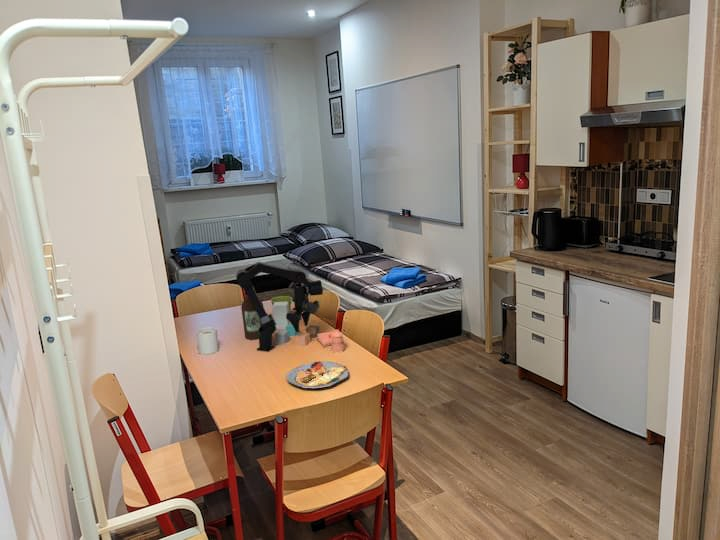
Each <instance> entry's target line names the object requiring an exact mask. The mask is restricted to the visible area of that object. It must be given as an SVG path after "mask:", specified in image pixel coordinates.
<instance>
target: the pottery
mask: <svg viewBox="0 0 720 540" xmlns="http://www.w3.org/2000/svg"><path fill="white" fill-rule="evenodd" d="M343 340H344V337H343V332H342V331H340V330H339V329H335V330H333V331H326V332H320V333H319V334H317V338H316V342H317V341H318V342H319V343H320V344H321V345H322V346H323V347H327V346H331V347H329V348H330V351H331V350H332V351H334V352H333V353H335V352H339V353H341V352H340V351H343V350H344V351H345V348H346V345H345V343H344V342H343ZM318 342H317V343H318ZM319 343H318V344H319ZM320 344H319V345H320ZM321 345H320V346H321ZM322 346H321V347H322ZM323 347H322V348H323ZM327 348H328V347H327ZM332 351H331V352H332ZM344 351H343V352H344Z"/></svg>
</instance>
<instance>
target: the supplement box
mask: <svg viewBox="0 0 720 540" xmlns="http://www.w3.org/2000/svg"><path fill="white" fill-rule="evenodd" d="M287 313H289V306H288V302H275V303H274V304H273V305H272V317H273V319H274V320H275V322H276V325H275V326H276V330H286V327H285V326H287V325H288V324H290V323H291V322H290V321H289V320H288V319H286V314H287Z"/></svg>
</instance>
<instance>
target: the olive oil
mask: <svg viewBox="0 0 720 540" xmlns="http://www.w3.org/2000/svg"><path fill="white" fill-rule="evenodd" d="M253 288H254V289H255V286H253ZM259 300H260V302H261V304H262V305H263V307H264V303H263V301H262V299H260V298H259ZM264 308H265V307H264ZM241 316H242V323H243V329H244V337H245V339H246V340H251V341H255V340H259V332H258V329H259V328H260V327H261V326H262V324H261V320H260V317H259V315H258V314H257V312H256V310H255V308H254V306H253V304H252V302H251V300H250V298H249V297H248V295H246V298H245V299H244V300H243V301H242V303H241Z"/></svg>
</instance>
